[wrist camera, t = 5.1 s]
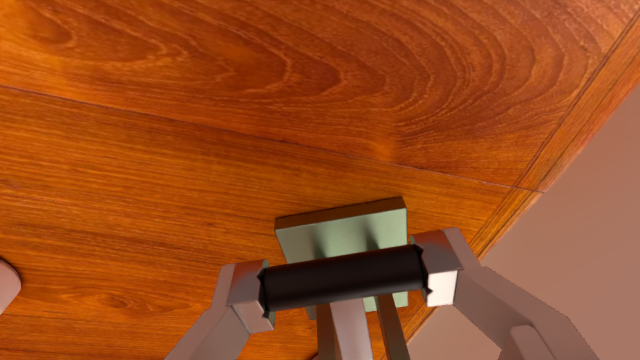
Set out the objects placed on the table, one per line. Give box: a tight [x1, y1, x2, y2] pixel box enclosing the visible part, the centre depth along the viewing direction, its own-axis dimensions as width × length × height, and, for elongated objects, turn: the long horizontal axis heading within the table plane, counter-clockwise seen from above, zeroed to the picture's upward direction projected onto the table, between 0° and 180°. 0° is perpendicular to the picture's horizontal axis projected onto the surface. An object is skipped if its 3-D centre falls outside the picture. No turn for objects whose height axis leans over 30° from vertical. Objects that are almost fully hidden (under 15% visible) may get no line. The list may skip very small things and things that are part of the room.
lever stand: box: [274, 197, 410, 360], centre depth 18 cm, size 12×9×15 cm
